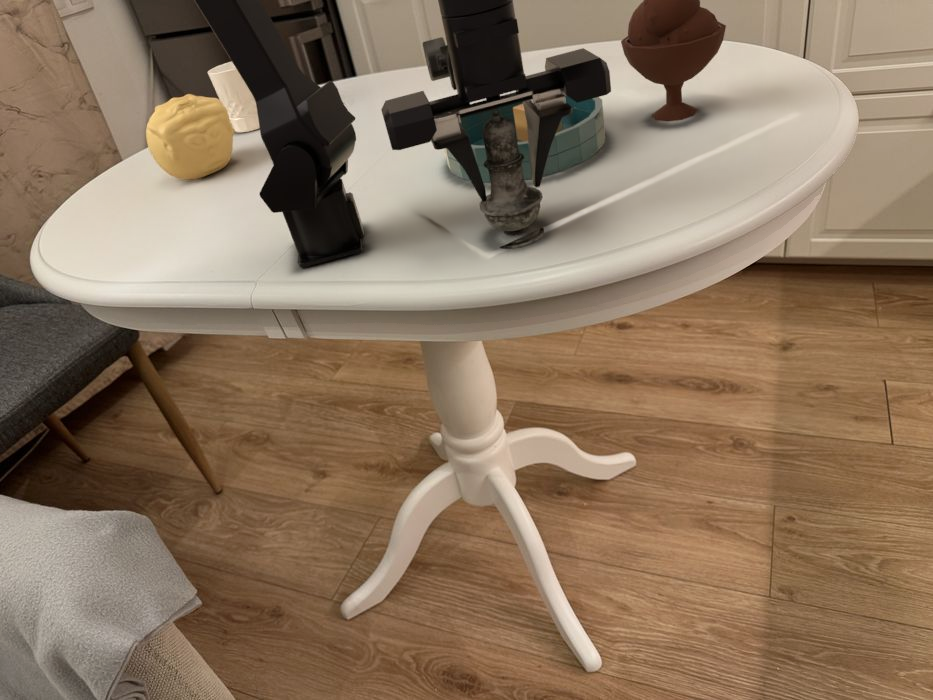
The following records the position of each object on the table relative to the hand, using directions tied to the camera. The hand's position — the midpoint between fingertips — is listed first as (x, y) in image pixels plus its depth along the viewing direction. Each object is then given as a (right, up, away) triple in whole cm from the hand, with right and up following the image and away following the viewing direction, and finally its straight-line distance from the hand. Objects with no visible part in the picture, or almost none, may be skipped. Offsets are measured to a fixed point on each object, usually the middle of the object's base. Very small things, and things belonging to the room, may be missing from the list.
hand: (510, 192), depth 63 cm
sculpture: (-43, +12, +40) cm, 60 cm away
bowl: (+3, +9, +19) cm, 21 cm away
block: (+5, +11, +21) cm, 24 cm away
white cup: (-41, +24, +56) cm, 73 cm away
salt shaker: (+1, -4, +3) cm, 5 cm away
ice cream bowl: (+21, +13, +19) cm, 31 cm away
